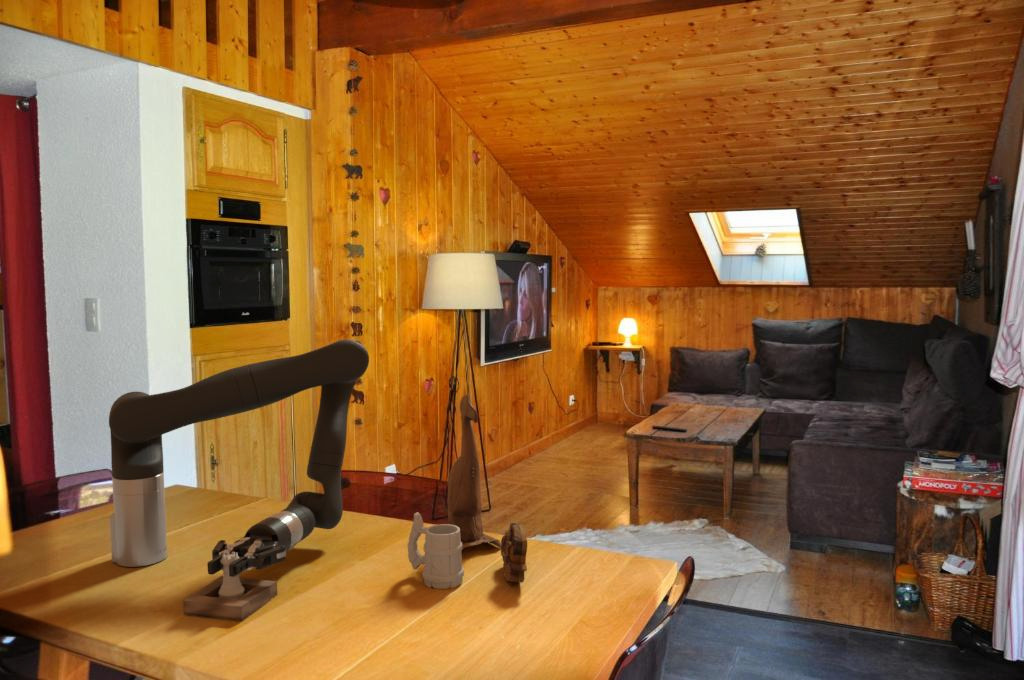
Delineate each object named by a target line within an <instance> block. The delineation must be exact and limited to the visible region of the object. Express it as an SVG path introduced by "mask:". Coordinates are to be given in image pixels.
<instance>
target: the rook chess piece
mask: <svg viewBox="0 0 1024 680" xmlns="http://www.w3.org/2000/svg"><path fill="white" fill-rule="evenodd" d="M239 558H240V557H239V556H238V553H237V552H236V553H235V552H232V554H230V555H229V552H227V553H226V556H225V554H223V556H222V559H221V560H220V562H221V563H222V564H223V568H222V570H221V571H222V573H223V575H222V576H223V583H222V586H221V589H220V590H219V593H218V594H219V595H220V596H219V597H218V598H225V599H234V600H238V599H239V598H240V597H242V596H243V595H245V593H244V591H245V589H244V587H243V586H242V583H241V582H240V579H239V578H240V574H238V575H236V576H235V577H231V576H229V565H230V564H231V563H232V562H234V561H236V560H237V559H239Z"/></svg>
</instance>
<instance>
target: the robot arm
mask: <svg viewBox="0 0 1024 680" xmlns="http://www.w3.org/2000/svg"><path fill="white" fill-rule="evenodd" d="M369 355H370V354H369V352H368V351H367V349H366V347H365V346H364V345H363V344H361V343H360V342H358V341H356V340H352V339H340V340H337V341H334V342H332V343H330V344H328V345H325V346H322V347H320V348H317V349H314V350H310V351H307V352H305V353H302V354H296V355H293V356H287V357H286V356H285V357H279V358H275V359H270V360H269V359H268V360H264V361H263V360H262V361H259V362H254V363H249V364H245V365H241V366H236V367H234V368H229V369H226V370H224V371H221V372H218V373H215V374H212V375H211V376H208V377H205V378H203V379H201V380H199V381H197V382H195V383H193V384H190V385H187V386H185V387H182V388H179V389H175V390H170V391H166V392H160V393H155V394H148V393H146V392H143V391H129V392H126V393H124V394H122V395H120V396H119V397H117V399H115V401H114V402H113V404H112V405H111V407H110V411H109V416H108V426H109V431H110V432H109V433H110V447H111V449H110V450H111V453H110V454H111V455H110V456H111V478H112V479H111V481H112V494H113V495H112V497H113V499H112V501H113V513H111V514H110V516H109V530H110V547H111V548H110V549H111V550H110V551H111V562H112V563H116V564H117V565H118V566H121V567H126V568H135V567H145V566H149V565H153V564H157V563H159V562H162V561H163V560H165V559H166V558H167V557H168V543H167V542H168V541H167V537H168V536H167V519H166V518H167V517H166V496H165V494H166V493H165V475H164V474H165V473H164V471H165V470H164V469H165V468H164V453H163V452H164V451H163V449H164V448H163V437H162V436H163V435H165V434H167V433H170V432H173V431H175V430H178V429H180V428H184V427H187V426H190V425H193V424H197V423H203V422H207V421H213V420H216V419H222V418H225V417H229V416H234V415H238V414H242V413H247V412H250V411H254V410H257V409H261V408H264V407H266V406H270V405H273V404H275V403H278V402H280V401H282V400H284V399H287V398H290V397H292V396H294V395H296V394H299V393H301V392H304V391H306V390H308V389H313V388H317V387H321V391H320V400H319V406H318V407H319V408H318V414H317V419H316V423H315V427H314V433H313V438H312V442H311V447H310V451H309V457H308V461H307V462H308V463H307V467H306V475H307V477H308V478H309V479H310V480H313V481H315V482H318V483H320V484H321V486H322V488H323V493H320V492H315V491H300V492H298V493H296V494H295V495H294V496H293V498H292V500H290V502H289V503H288V505H287V507H286V508H284V509H282V510H281V511H279V512H276V513H273V514H271V515H269V516H267V517H266V518H264V519H262V520H261V521H259V522H257V523H256V524H254V525H252V526H250V527H249V528H248V529H247V531H246V532H245V534H244V536H243V538H240V539H238V540H235V541H234V542H233V543H227V542H226V539H221V540H219V541H218V542H217V543H216V544H215V546H214V548H213V549H212V551H211V555H212V556H211V557H212V558H211V560H209V561H208V562H207V563H206V564H207V565H206V566H207V574H208V575H211V576H213V575H215V574H216V573H219V572H220V571H223V570H222V568H223V564H222V563H221V562H220V560H221V559H222V556H223V554H225V556H226V553H227V552H229V555H230V554H232V552H235V553H236V552H237V553H238V556H239V557H240V558H239V559H237V560H236V561H234V562H232V563H231V564H230V565H229V576H231V577H235V576H236V575H238V574H239V575H240V574H242V573H243V572H245V571H251V570H253V568H255V569H256V570H257V571H258V570H259V571H260V570H263V569H266V568H268V567H271V566H274V565H276V564H279V563H282V562H284V561H286V555H287V553H288V552H289V551H291V550H292V549H293V548H295V546H297V544H299V543H300V542H302V541H303V540H305V539H306V538H307V537H309V536H310V535H311V534H312V533H313V531H314V529H315V528H317V529H323V530H331V529H332V530H333V529H334V528H336V527H337V525H339V523H340V522H341V519H342V517H343V510H344V507H343V506H344V505H343V504H344V503H343V496H342V481H341V479H342V468H343V463H344V457H345V452H346V445H347V431H348V430H347V429H348V413H349V407H350V401H351V399H352V398H351V397H352V394H353V391H354V388H355V386H356V383H357V381H358V380H359V379H360V378H362V377H363V375H364V374H365V373H366V372H367V369H368V367H369V364H370V356H369Z"/></svg>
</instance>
